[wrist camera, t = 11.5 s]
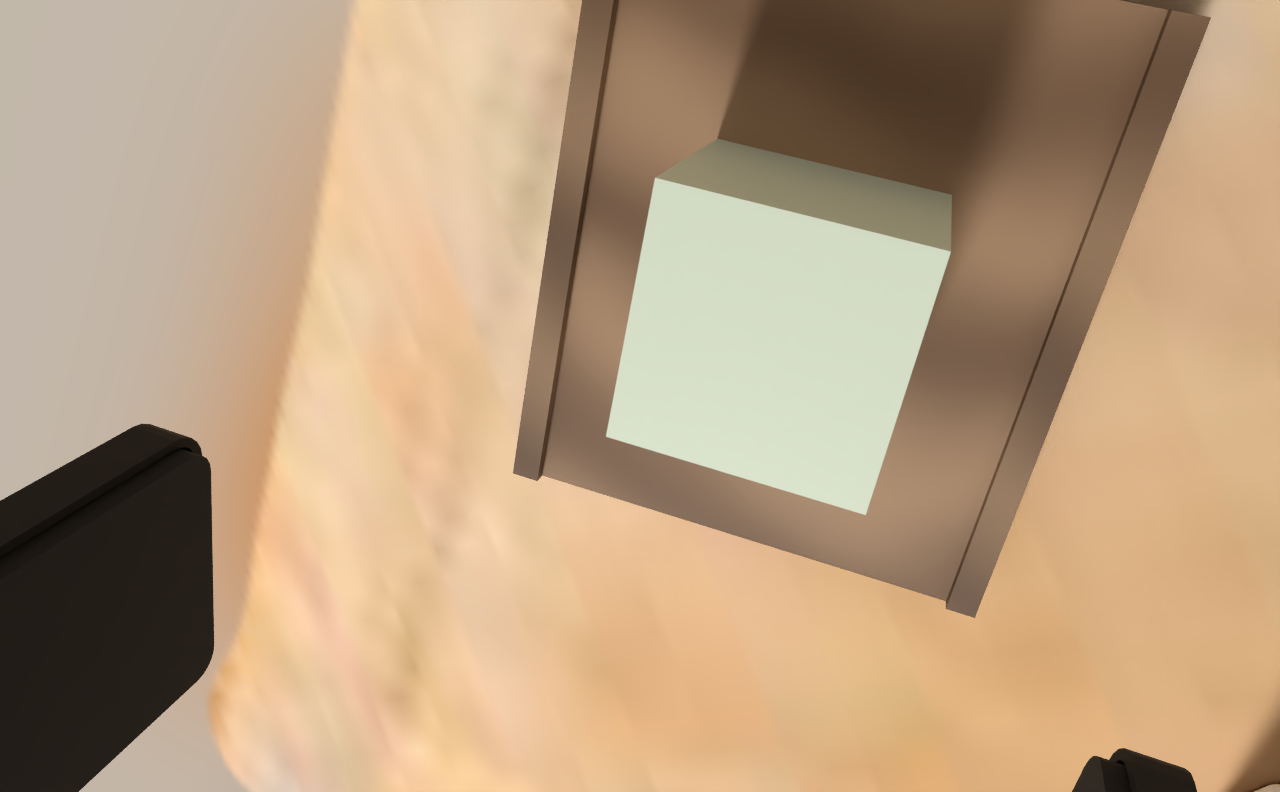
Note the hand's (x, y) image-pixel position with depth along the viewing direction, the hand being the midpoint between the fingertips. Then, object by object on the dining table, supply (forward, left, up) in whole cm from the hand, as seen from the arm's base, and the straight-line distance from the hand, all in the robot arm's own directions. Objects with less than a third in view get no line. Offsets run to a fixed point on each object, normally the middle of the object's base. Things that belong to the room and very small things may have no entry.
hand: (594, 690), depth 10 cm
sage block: (0, 0, -18) cm, 18 cm away
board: (+1, 0, -19) cm, 19 cm away
